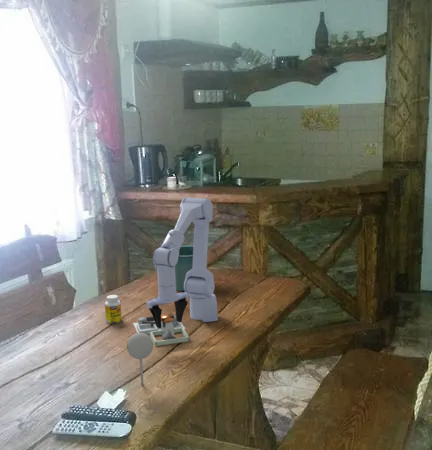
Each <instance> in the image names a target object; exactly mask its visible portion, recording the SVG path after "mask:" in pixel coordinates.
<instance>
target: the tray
mask: <svg viewBox="0 0 432 450" xmlns="http://www.w3.org/2000/svg"><path fill="white" fill-rule="evenodd" d="M175 333H176V334H177V333H182V335H183V336H182V337H174V338H173V339H168V340H164V339H162V340H157V339H156V336H162V330H159V331H152V332H150V334H149V337H150V338H151V340H152V342H153V345H154V346H155V347H157V346H158V347H159V346H164V345H165V346H166V345H173V344H179V343H184V342H190V341H191V340H190V338H191V337H190V336H189V333H187V332H186V329H183V327H180V328H174V334H175Z"/></svg>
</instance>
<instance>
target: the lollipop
mask: <svg viewBox="0 0 432 450" xmlns="http://www.w3.org/2000/svg"><path fill="white" fill-rule="evenodd" d="M153 349H154V342H153V340H152V339H151V337H150V335H149V334H144V333H138V332H136V333H134V334H132V335H131V336H130V337H129V339H128V340H127V344H126V350H127V352H128V354H129V356H130V357H131V358H133V359H136V360H139V372H140V385H141V386H143V385H144V375H143V374H144V372H143V369H144V368H143V360H144V359H146V358H147V357H149V356H150V354H152V351H153Z"/></svg>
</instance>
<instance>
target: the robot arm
mask: <svg viewBox="0 0 432 450" xmlns="http://www.w3.org/2000/svg"><path fill="white" fill-rule="evenodd" d="M179 210H180V211H179V212H180V214H179V217H178V219H177V221H176V223H175V226H174V229H171V230H169V231H168V233H167V235H166V237H165V238H164V240H163V242H162V244H161V245H160V247H158V248H156V249H155V250H154V251H153V255H152V262H153V264H154V267H155V271H156V273H157V288H158V291H157V292H158V296H157V297H154V298H152V299H150V300H146V301H145V306H146V308H147V309H148V310H149V312H150V313H151V316H153V317H154V320H155V323H156V327H158V328H161V315H162V312H163V309H161V308H160V306H162V305H167V304H171V303H174V307H175V315H176V320H177V321H178V322H181V323H183V322H182V320H183V316H184V314H185V310H186V308H187V305H188V304H189V313H190V314H189V317H190V318H191V320H195V321H197V320H198V321H202V322H203V323H210V322H216V321H219V319H218V302H217V301H218V300H217V296H216V294H215V293H214V291H215V287H216V286H215V278H214V277H215V276H214V274H213V272H211V271H210V270H209V269H208V250H209V249H208V248H209V228H210V223H211V222H212V221H213V211H214V205H213V203H212V201H211V199H210V198H208V197H207V198H201V197H200V198H199V197H198V198H196V197H194V198H193V197H186V196H185V197H183V198H182V200H181V202H180V204H179ZM191 223H193V225H194V230H193V245H192V246H193V266H192V269H191V270H190V271H188V272H187V273H186V278H185V282H184V290H185V291H184V292H183V291H182V292H179V293H177V290H176V278H175V265H176V264H177V262H178V256H179V249H180V247H181V246H183V243H184V241H185V238H186V237H185V235H184V234H185V233H186V232H187V230H188V228H189V227H190V225H191ZM194 276H196V277H194ZM200 277H202V278H200ZM187 300H189V303H188V301H187Z"/></svg>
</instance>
